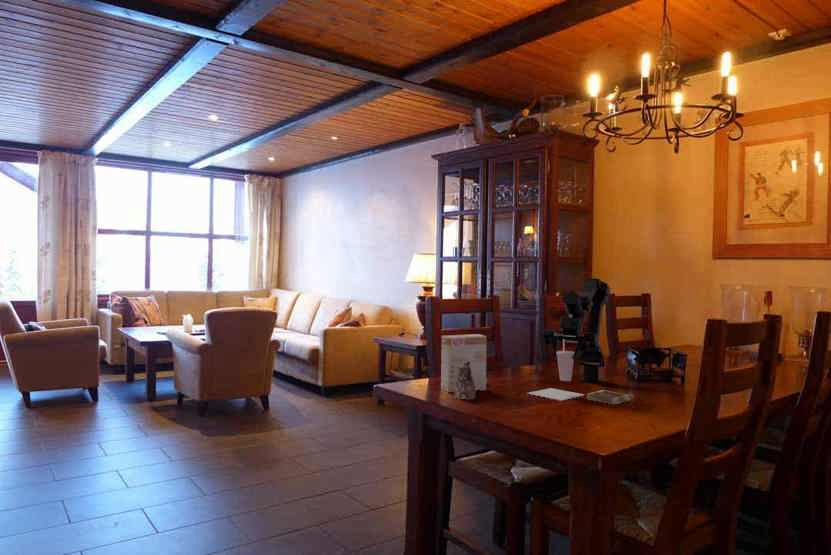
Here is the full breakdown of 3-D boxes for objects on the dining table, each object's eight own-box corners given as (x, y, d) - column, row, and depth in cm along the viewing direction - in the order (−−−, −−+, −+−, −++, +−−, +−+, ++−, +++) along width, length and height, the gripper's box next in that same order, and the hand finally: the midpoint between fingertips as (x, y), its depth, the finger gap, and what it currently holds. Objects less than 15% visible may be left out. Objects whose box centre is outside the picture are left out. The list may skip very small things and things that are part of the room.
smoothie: (557, 378, 207) (556, 338, 207) (576, 379, 205) (575, 338, 205) (555, 381, 201) (554, 340, 201) (574, 382, 199) (574, 340, 199)
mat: (550, 389, 215) (550, 388, 215) (584, 395, 205) (584, 394, 205) (527, 394, 206) (527, 393, 206) (561, 401, 195) (561, 400, 195)
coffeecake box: (477, 386, 217) (478, 333, 217) (486, 390, 211) (487, 335, 211) (440, 389, 212) (440, 334, 212) (448, 393, 206) (448, 337, 205)
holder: (602, 395, 205) (602, 389, 205) (629, 400, 198) (630, 394, 198) (587, 399, 198) (587, 393, 198) (614, 405, 191) (614, 398, 191)
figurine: (449, 397, 199) (450, 361, 198) (462, 394, 204) (463, 359, 204) (466, 400, 194) (467, 364, 194) (479, 397, 199) (480, 362, 199)
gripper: (544, 307, 211) (532, 341, 202) (596, 309, 201) (587, 345, 192) (551, 327, 218) (540, 361, 209) (602, 330, 208) (593, 366, 199)
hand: (564, 358), depth 202 cm, fingers closed on smoothie, 6 cm apart
